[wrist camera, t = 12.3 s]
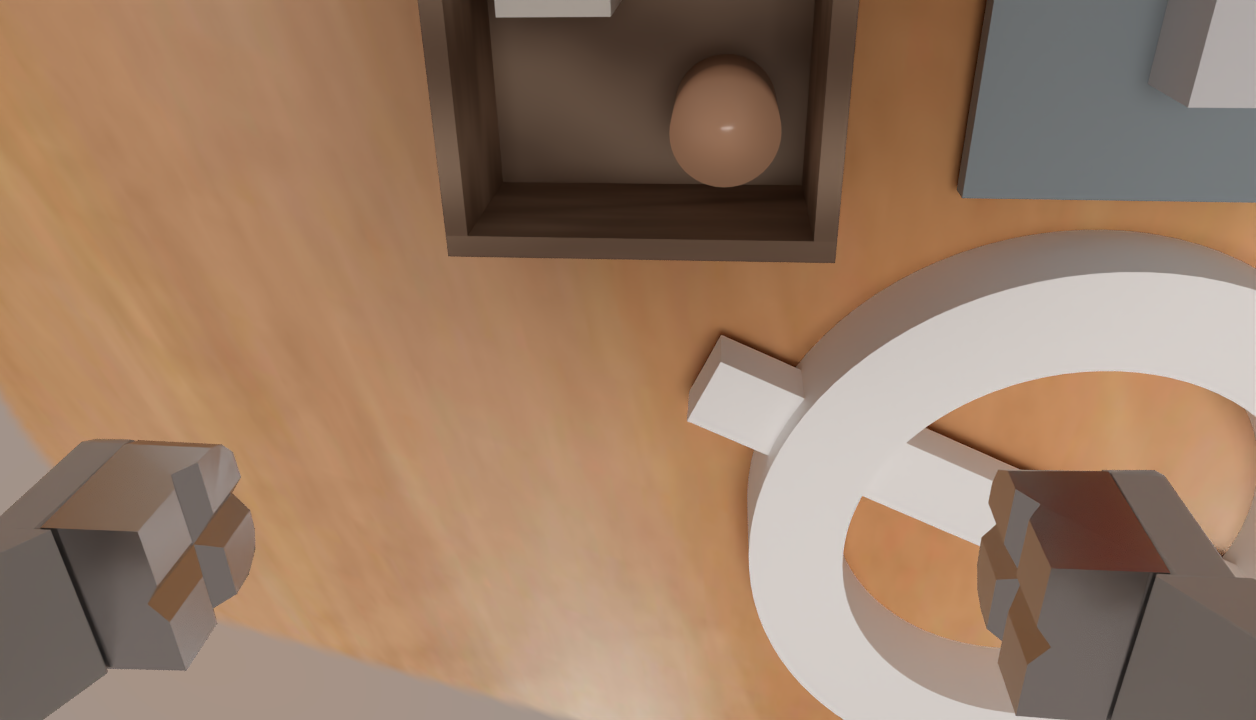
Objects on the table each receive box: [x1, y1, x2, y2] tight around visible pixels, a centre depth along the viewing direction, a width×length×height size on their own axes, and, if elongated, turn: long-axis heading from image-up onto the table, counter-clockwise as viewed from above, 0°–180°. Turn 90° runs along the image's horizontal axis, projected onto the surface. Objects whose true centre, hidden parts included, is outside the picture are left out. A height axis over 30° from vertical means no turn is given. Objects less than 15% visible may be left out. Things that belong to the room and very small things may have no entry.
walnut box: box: [418, 0, 859, 263], centre depth 34 cm, size 14×14×7 cm
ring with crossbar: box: [687, 230, 1256, 720], centre depth 44 cm, size 28×28×5 cm
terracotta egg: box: [669, 54, 782, 187], centre depth 36 cm, size 4×4×4 cm
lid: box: [957, 0, 1256, 202], centre depth 33 cm, size 15×15×5 cm
